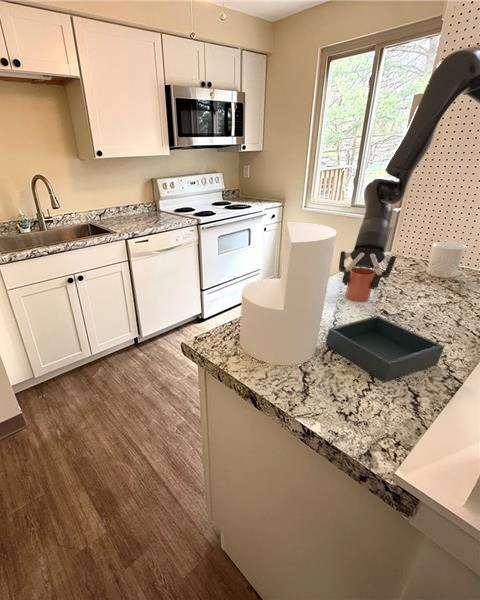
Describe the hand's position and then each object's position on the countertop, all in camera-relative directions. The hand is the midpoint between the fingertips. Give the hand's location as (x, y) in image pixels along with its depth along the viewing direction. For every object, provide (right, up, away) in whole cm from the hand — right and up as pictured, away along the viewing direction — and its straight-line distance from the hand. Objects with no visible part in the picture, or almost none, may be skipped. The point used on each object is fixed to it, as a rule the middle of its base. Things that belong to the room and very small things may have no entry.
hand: (359, 286), depth 91 cm
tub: (-11, -16, -22) cm, 29 cm away
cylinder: (-31, -15, -15) cm, 37 cm away
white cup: (+35, +4, +12) cm, 38 cm away
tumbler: (+1, -3, +3) cm, 5 cm away
